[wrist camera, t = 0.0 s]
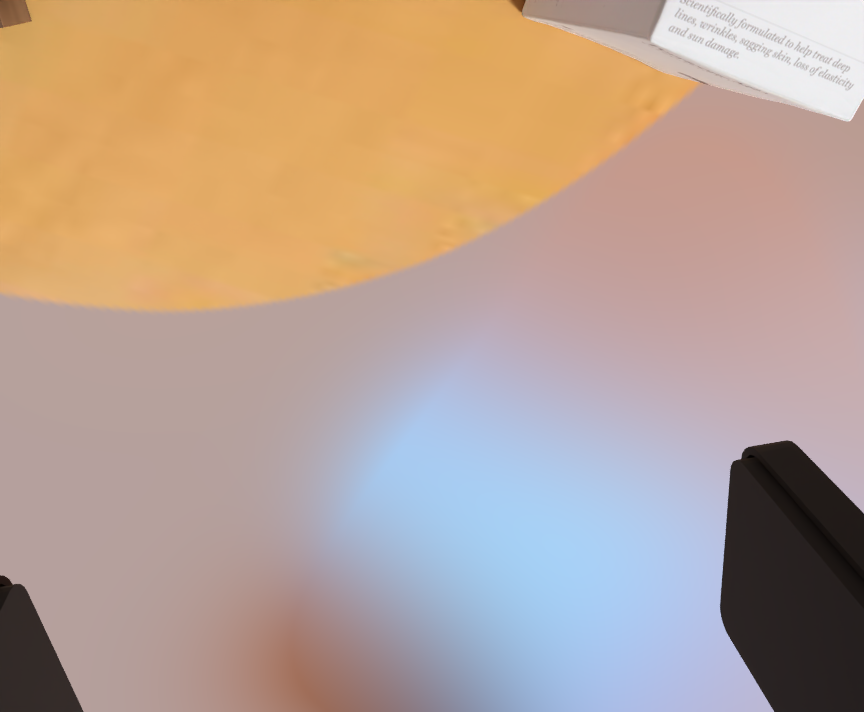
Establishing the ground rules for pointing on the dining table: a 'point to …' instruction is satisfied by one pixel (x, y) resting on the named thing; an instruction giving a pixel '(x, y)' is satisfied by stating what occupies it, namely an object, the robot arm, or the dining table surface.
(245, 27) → the dining table surface
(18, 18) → the frame
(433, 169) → the dining table surface
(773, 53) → the skincare box
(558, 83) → the dining table surface
